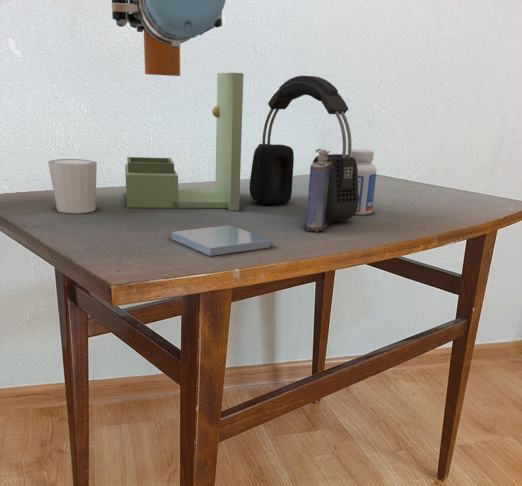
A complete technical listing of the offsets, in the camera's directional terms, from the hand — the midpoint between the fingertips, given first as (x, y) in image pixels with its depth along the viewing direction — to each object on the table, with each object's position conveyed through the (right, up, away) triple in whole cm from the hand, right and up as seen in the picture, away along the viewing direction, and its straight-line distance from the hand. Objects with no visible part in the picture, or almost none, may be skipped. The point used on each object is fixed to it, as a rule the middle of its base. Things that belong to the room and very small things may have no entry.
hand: (159, 22), depth 87 cm
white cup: (-13, -27, +3) cm, 30 cm away
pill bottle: (+31, -25, +12) cm, 41 cm away
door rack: (+1, -23, +13) cm, 26 cm away
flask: (+23, -30, +1) cm, 38 cm away
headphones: (+21, -26, +9) cm, 35 cm away
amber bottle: (+1, -9, -2) cm, 9 cm away
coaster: (+10, -35, -12) cm, 38 cm away
